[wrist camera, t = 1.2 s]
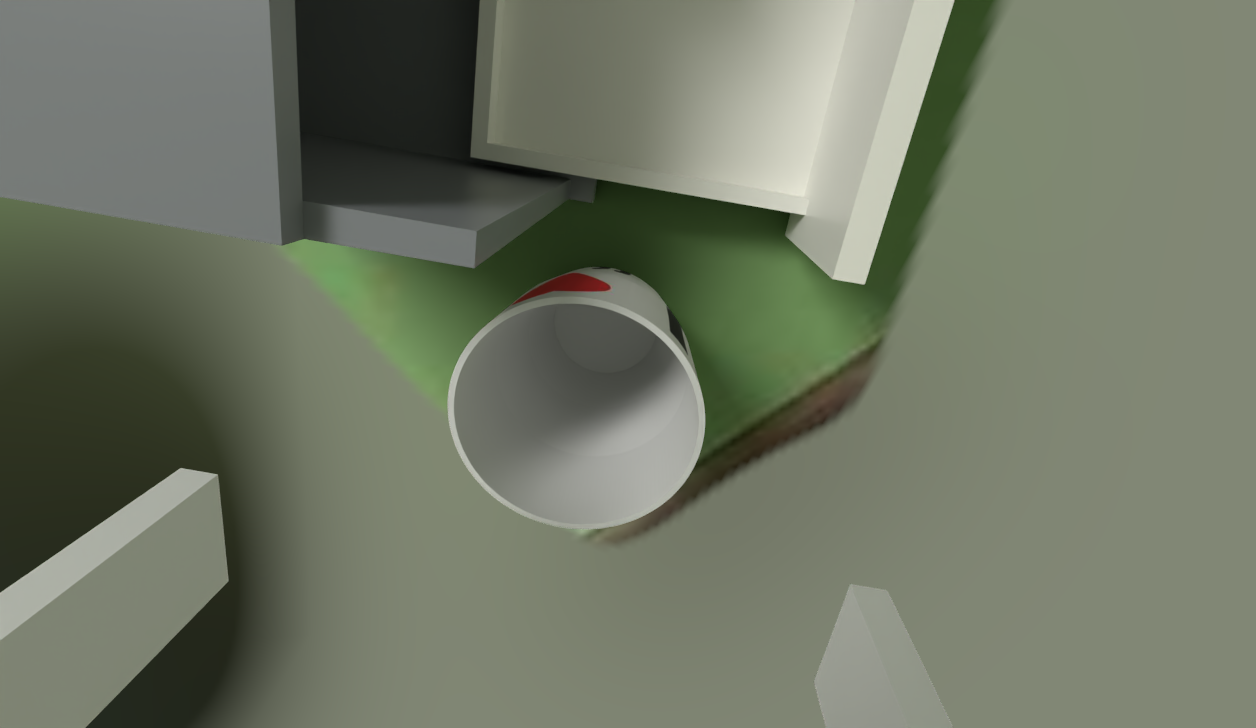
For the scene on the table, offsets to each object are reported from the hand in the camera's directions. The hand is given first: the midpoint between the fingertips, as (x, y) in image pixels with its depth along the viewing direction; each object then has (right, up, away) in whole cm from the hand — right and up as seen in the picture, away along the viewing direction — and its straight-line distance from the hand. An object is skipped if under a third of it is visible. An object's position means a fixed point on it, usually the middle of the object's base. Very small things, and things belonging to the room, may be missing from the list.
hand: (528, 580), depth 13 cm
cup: (+1, +6, +16) cm, 17 cm away
